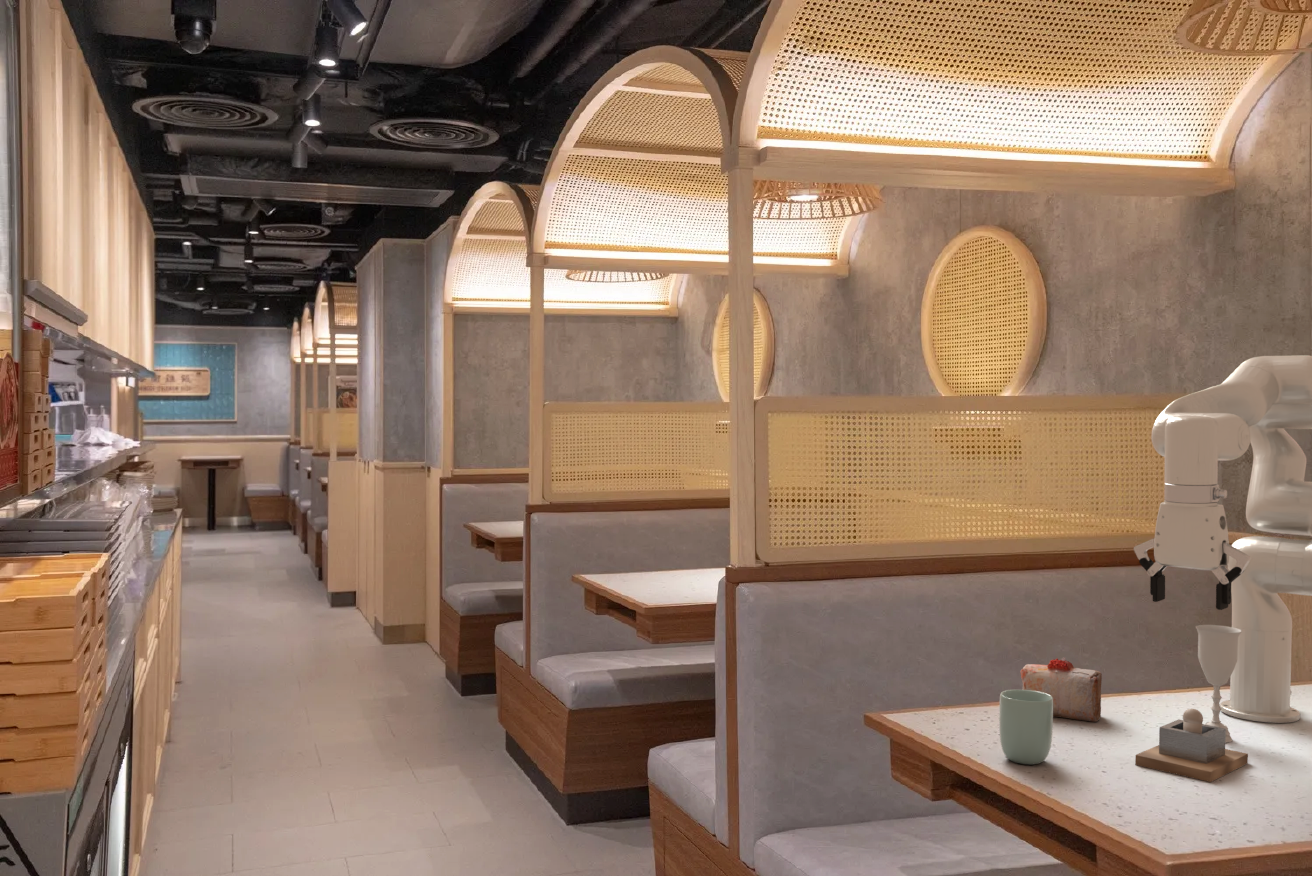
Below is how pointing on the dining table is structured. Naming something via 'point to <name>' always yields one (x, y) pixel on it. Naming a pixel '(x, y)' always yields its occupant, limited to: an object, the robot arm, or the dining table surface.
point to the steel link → (1192, 742)
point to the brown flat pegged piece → (1188, 767)
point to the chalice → (1217, 662)
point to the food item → (1066, 688)
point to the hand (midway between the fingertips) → (1189, 604)
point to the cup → (1026, 725)
